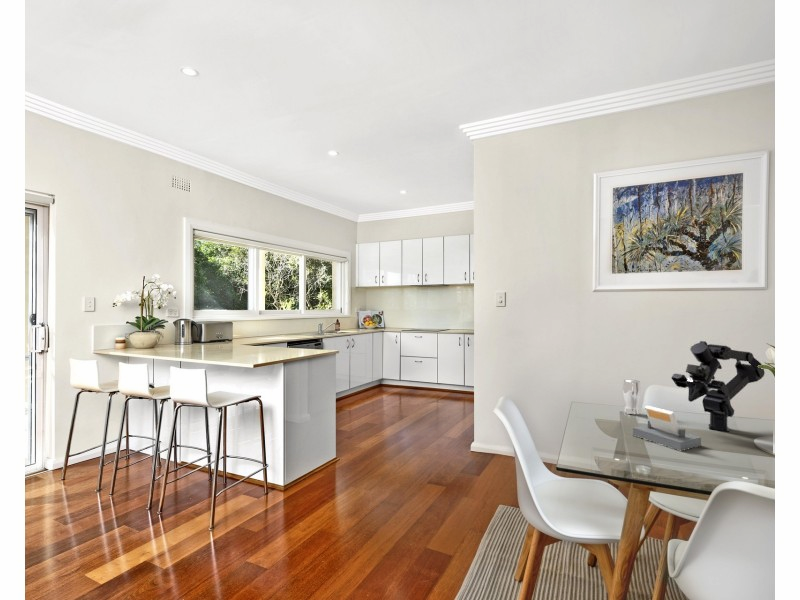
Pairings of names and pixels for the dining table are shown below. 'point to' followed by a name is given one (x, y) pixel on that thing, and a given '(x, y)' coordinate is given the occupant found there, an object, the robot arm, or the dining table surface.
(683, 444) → the base
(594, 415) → the dining table surface
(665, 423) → the panel
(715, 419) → the robot arm
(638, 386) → the beer glass
